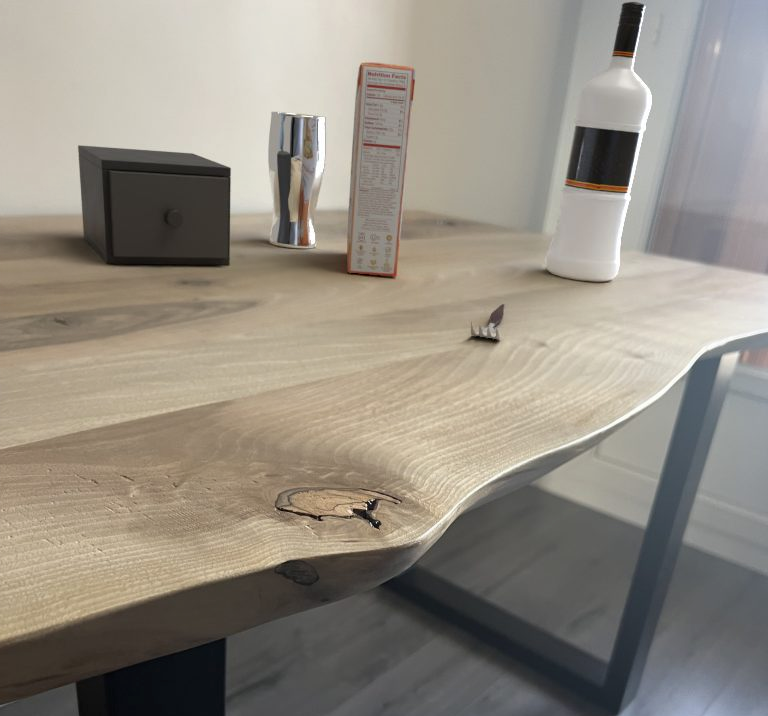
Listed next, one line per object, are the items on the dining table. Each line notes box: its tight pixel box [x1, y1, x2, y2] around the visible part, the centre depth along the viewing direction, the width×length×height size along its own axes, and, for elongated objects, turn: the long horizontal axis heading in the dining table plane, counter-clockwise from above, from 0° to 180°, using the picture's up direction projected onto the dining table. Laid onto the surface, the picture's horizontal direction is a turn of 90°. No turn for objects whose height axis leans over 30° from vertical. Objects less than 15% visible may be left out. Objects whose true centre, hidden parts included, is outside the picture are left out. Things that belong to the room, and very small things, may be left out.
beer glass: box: [267, 111, 327, 250], centre depth 101 cm, size 7×7×15 cm
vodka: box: [544, 1, 652, 283], centre depth 98 cm, size 9×9×30 cm
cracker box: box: [346, 61, 416, 278], centre depth 92 cm, size 14×6×21 cm, turn 2°
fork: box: [470, 303, 506, 340], centre depth 74 cm, size 3×16×2 cm, turn 166°
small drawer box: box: [77, 144, 232, 266], centre depth 89 cm, size 15×13×10 cm
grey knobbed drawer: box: [109, 170, 229, 258], centre depth 87 cm, size 15×12×8 cm
